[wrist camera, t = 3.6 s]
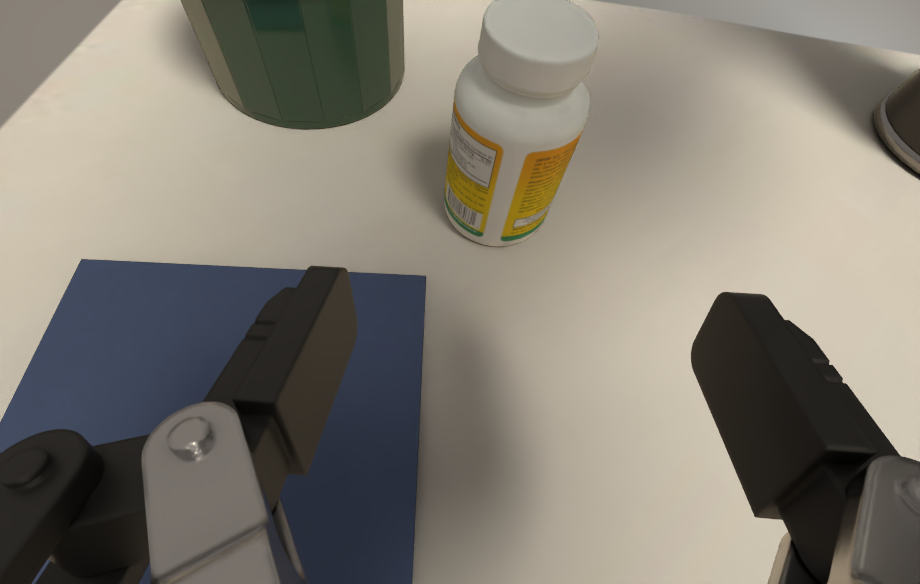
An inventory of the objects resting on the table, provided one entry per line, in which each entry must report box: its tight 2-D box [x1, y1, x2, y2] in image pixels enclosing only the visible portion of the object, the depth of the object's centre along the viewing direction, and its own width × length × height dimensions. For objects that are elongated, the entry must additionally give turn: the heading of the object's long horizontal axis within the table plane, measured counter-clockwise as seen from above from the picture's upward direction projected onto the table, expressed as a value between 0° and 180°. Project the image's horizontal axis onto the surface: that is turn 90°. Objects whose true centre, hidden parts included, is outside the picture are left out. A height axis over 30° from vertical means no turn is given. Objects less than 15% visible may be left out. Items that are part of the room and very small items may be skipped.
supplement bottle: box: [444, 0, 599, 246], centre depth 19 cm, size 5×5×10 cm
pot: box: [181, 0, 405, 129], centre depth 24 cm, size 11×11×8 cm
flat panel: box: [0, 259, 426, 584], centre depth 17 cm, size 12×15×1 cm
